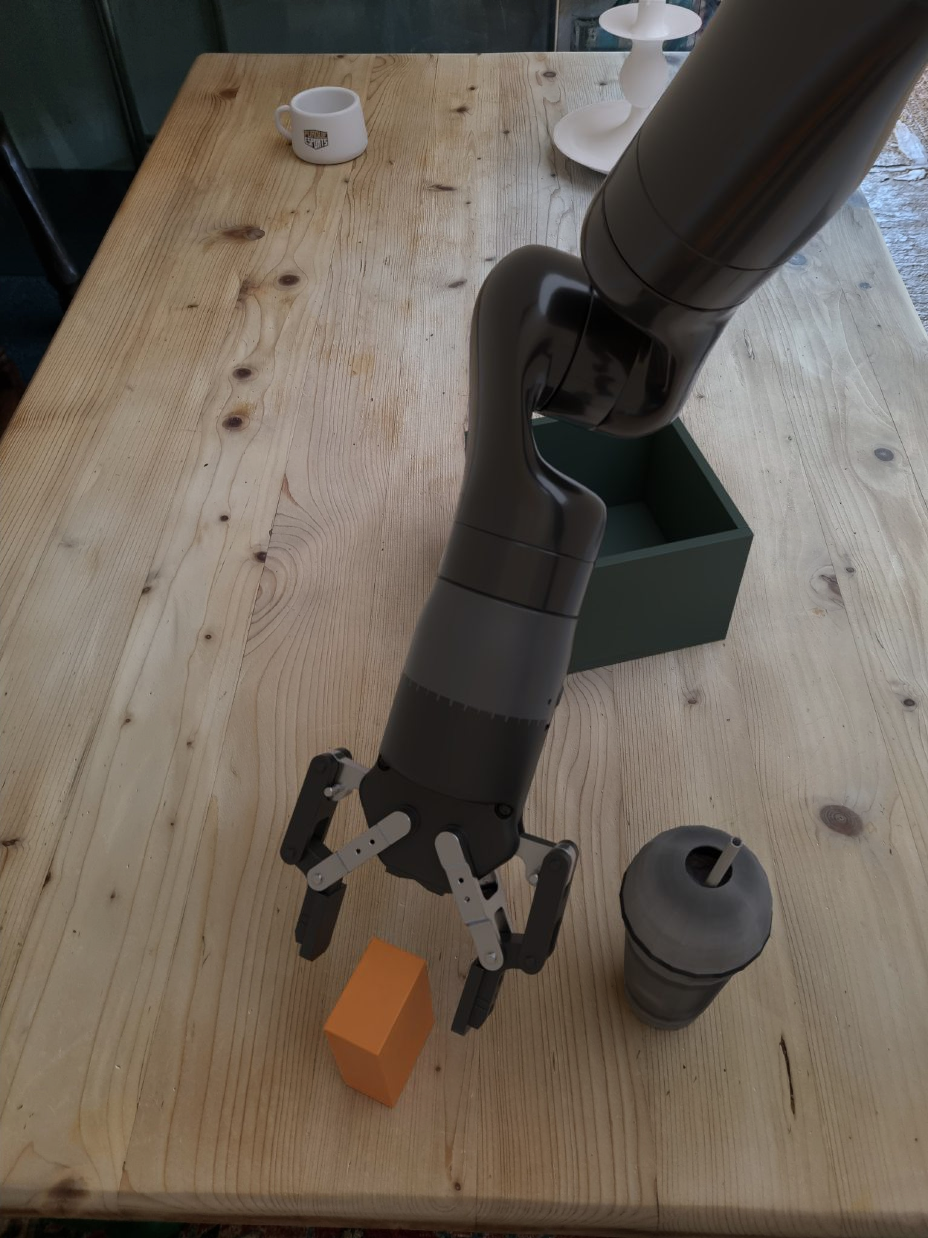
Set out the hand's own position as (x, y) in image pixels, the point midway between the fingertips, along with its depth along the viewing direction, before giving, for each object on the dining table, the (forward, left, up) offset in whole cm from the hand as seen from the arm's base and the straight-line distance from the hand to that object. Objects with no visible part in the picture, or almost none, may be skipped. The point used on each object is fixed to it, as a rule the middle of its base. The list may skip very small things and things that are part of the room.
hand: (386, 990), depth 49 cm
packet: (-1, +1, -7) cm, 7 cm away
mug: (+110, -13, -8) cm, 111 cm away
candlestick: (+93, -49, -8) cm, 106 cm away
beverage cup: (-1, -15, -7) cm, 17 cm away
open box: (+29, -21, -7) cm, 37 cm away
